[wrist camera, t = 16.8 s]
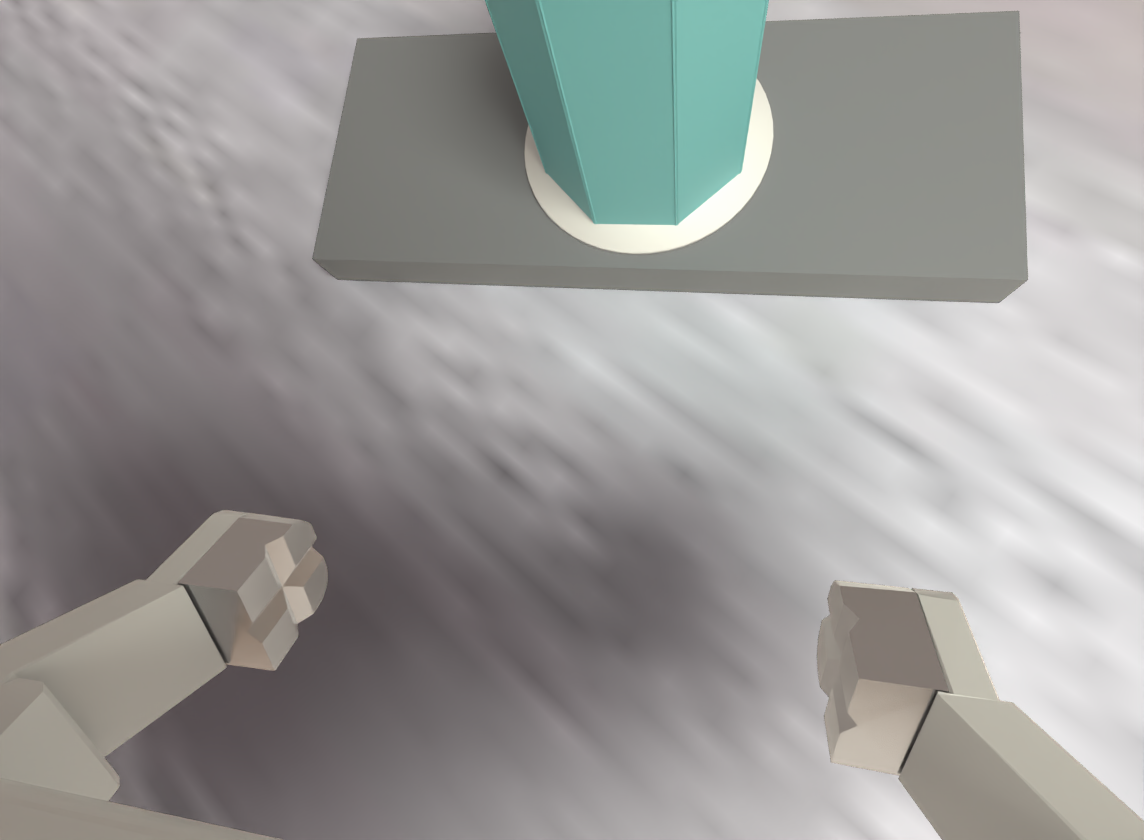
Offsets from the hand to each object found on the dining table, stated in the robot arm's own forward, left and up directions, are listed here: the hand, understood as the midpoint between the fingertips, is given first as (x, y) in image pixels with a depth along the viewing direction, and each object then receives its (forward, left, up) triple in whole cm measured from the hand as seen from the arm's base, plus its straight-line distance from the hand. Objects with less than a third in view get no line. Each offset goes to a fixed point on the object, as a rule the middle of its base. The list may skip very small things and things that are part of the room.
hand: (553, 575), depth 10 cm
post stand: (0, +12, -8) cm, 15 cm away
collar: (0, +12, -6) cm, 14 cm away
